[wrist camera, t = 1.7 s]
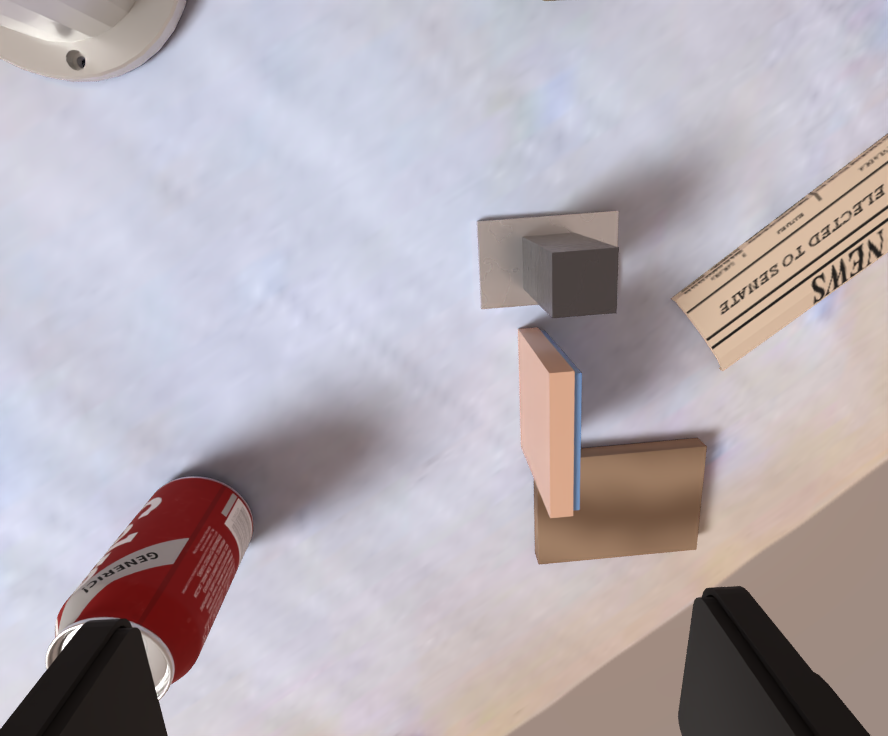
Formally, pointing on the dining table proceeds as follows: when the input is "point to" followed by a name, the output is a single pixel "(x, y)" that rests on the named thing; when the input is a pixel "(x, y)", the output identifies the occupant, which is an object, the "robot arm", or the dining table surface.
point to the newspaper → (793, 260)
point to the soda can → (166, 574)
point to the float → (550, 263)
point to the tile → (550, 420)
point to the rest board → (628, 503)
